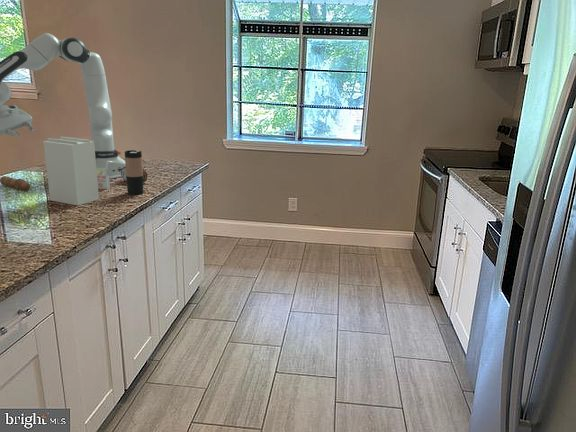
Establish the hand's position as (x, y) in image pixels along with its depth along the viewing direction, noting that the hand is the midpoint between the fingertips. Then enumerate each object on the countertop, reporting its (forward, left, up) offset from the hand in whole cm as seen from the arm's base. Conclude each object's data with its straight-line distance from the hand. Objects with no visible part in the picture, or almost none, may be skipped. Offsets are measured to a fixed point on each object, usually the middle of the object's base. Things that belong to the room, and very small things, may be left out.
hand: (25, 132), depth 209 cm
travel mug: (-38, +34, -26) cm, 57 cm away
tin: (-45, +13, -26) cm, 54 cm away
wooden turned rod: (+7, 0, -26) cm, 27 cm away
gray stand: (-11, +33, -26) cm, 44 cm away
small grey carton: (-27, +18, -26) cm, 42 cm away
